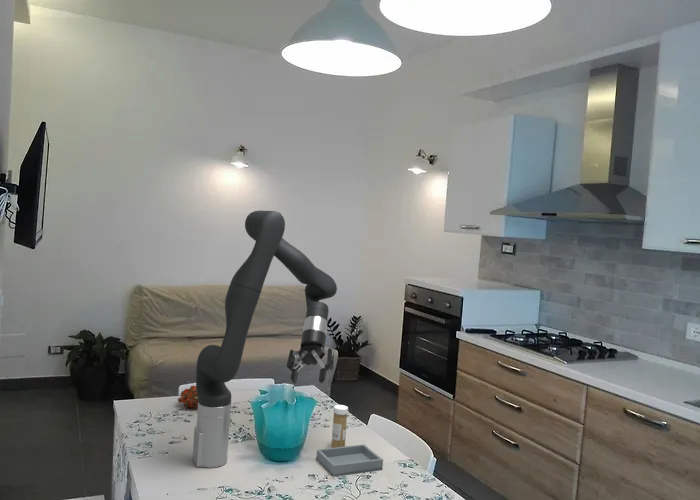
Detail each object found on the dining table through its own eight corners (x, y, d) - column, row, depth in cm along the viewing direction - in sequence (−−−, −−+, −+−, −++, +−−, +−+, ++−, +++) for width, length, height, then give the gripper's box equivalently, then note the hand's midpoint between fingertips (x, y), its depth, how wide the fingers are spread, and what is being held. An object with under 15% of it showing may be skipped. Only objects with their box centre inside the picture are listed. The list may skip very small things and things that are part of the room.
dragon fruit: (201, 417, 207) (181, 413, 214) (216, 399, 213) (196, 395, 220) (189, 400, 203) (168, 396, 211) (204, 382, 209) (184, 379, 216)
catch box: (332, 476, 163) (333, 466, 163) (316, 459, 174) (316, 449, 174) (382, 469, 171) (383, 459, 170) (363, 453, 181) (364, 444, 181)
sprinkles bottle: (347, 450, 183) (351, 408, 183) (335, 452, 181) (338, 409, 180) (340, 444, 187) (343, 403, 187) (327, 446, 185) (331, 405, 184)
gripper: (289, 329, 182) (280, 378, 173) (332, 327, 178) (326, 377, 169) (297, 340, 188) (289, 387, 179) (339, 338, 184) (333, 387, 175)
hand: (307, 382), depth 174 cm, fingers open, 8 cm apart
